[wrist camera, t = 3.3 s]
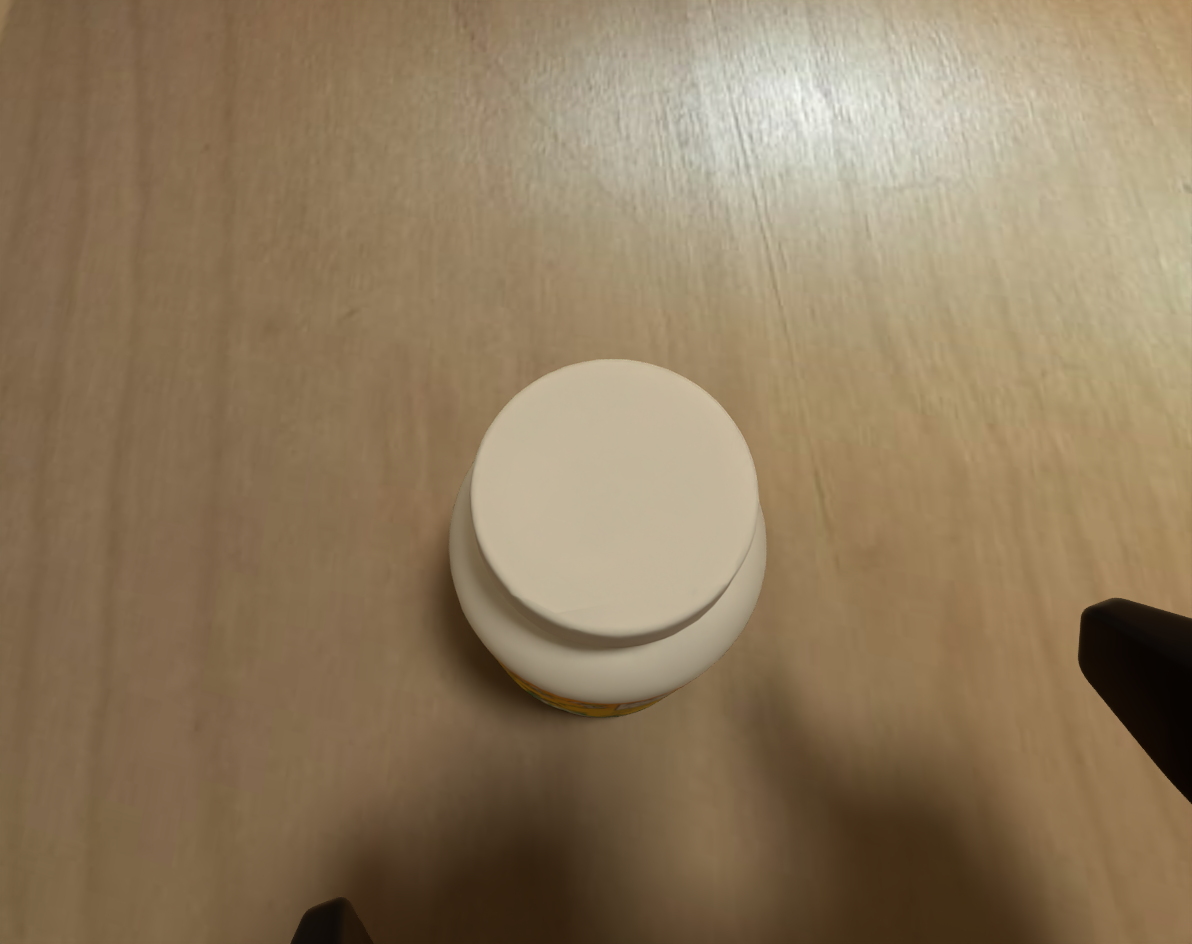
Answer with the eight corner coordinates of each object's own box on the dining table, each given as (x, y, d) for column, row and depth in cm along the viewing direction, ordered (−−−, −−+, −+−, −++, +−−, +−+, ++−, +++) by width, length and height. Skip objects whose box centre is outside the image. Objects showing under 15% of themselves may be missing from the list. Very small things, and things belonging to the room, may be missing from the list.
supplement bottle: (749, 646, 21) (892, 567, 12) (553, 763, 20) (540, 778, 11) (634, 459, 22) (681, 255, 13) (446, 561, 21) (352, 420, 12)
